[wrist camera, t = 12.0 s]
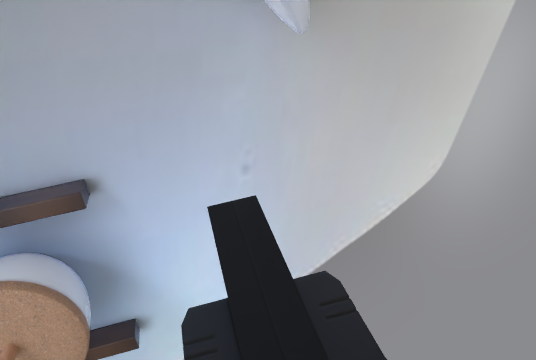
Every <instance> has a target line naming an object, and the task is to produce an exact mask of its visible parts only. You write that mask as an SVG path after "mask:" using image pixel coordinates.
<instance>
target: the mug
mask: <svg viewBox="0 0 536 360" xmlns="http://www.w3.org/2000/svg"><path fill="white" fill-rule="evenodd" d="M264 1H265V2H266V3H267V5H268V6H269V7H270V8H271V9H272V10H273V12H274V13H275V14H276V15H277V16H278V17H279V18H280V19H281V20H282V21H283V22H285V23H286V24H287V25H288V26H289V27H291V28H292V29H293V30H294V31H296V32H297V33H304V32H305V31H306V30H307V28H308V26H309V22H310V6H309V0H264Z"/></svg>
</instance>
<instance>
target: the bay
mask: <svg viewBox="0 0 536 360" xmlns="http://www.w3.org/2000/svg"><path fill="white" fill-rule="evenodd" d="M89 195H90V194H89V191H88V188H87V186H86V183H85V180H79V181H74V182H70V183H65V184H61V185H56V186H52V187H47V188H43V189H38V190H33V191H29V192H24V193H20V194H15V195H11V196H6V197H2V198H0V228H3V227H8V226H12V225H16V224H21V223H25V222H29V221H34V220H38V219H42V218H47V217H51V216H55V215H60V214H64V213H69V212H73V211H77V210H82V209H85V208H86V207H87V203H88V199H89ZM139 332H140V329H139V327H138V324H137V321H136V319H133V320H129V321H126V322H122V323H118V324H114V325H111V326H107V327H103V328H99V329H96V330H92V331H90V340H89V349H88V352H87V356H86V359H85V360H98V359H102V358H105V357H109V356H113V355H116V354H120V353H123V352H127V351H131V350H134V349H138V348H139Z"/></svg>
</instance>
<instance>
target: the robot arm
mask: <svg viewBox="0 0 536 360" xmlns="http://www.w3.org/2000/svg"><path fill="white" fill-rule="evenodd" d="M207 208H208V212H209V217H210V221H211V225H212V230H213V234H214V238H215V243H216V247H217V252H218V256H219V260H220V265H221V269H222V273H223V278H224V282H225V286H226V291H227V295H228V298H226V299H222V300H218V301H215V302H211V303H207V304H203V305H200V306H196V307H192V308H189V309H188V311H187V313H186V316H185V318H184V321H183V323H182V325H181V327H182V339H183V351H184V359H185V360H387V359H386V358H385V357H384V355H383V353H382V351H381V350H380V348H379V346H378V345H377V343H376V341H375V340H374V338H373V336H372V334H371V333H370V331H369V329H368V328H367V326H366V325H365V323H364V321H363V319H362V318H361V316H360V314H359V312H358V311H357V310H356V307H355V306H354V304H353V302H352V300H351V299H349V295H348V294H347V292H346V291H345V289H344V287H343V285H342V284H341V282H340V281H339V280H338V279H336V278H335V277H333V276H332V275H330V274H329V273H327V272H326V271H322V272H318V273H315V274H311V275H307V276H303V277H299V278H296V279H293V278H292V276H291V273H290V271H289V269H288V267H287V265H286V262H285V260H284V258H283V256H282V253H281V251H280V249H279V247H278V244H277V242H276V240H275V238H274V235H273V233H272V231H271V229H270V226H269V224H268V222H267V220H266V217H265V215H264V213H263V211H262V208H261V206H260V204H259V202H258V199H257V197H256V195H255V196H251V197H247V198H242V199H238V200H234V201H230V202H225V203H221V204H217V205H213V206H209V207H207Z"/></svg>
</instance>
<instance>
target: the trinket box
mask: <svg viewBox="0 0 536 360" xmlns="http://www.w3.org/2000/svg"><path fill="white" fill-rule="evenodd" d="M90 322H91V308H90V301H89V296H88V293H87V290H86V288H85V286H84V284H83V282H82V280H81V279H80V277H79V276H78V275H77V274H76V272H75V271H74V270H72V269H71V268H70V267H69V266H68V265H66V264H65V263H63V262H62V261H60V260H58V259H55V258H53V257H50V256H47V255H43V254H37V253H17V254H12V255H7V256H3V257H0V360H85V359H86V356H87V352H88V349H89V340H90Z"/></svg>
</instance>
